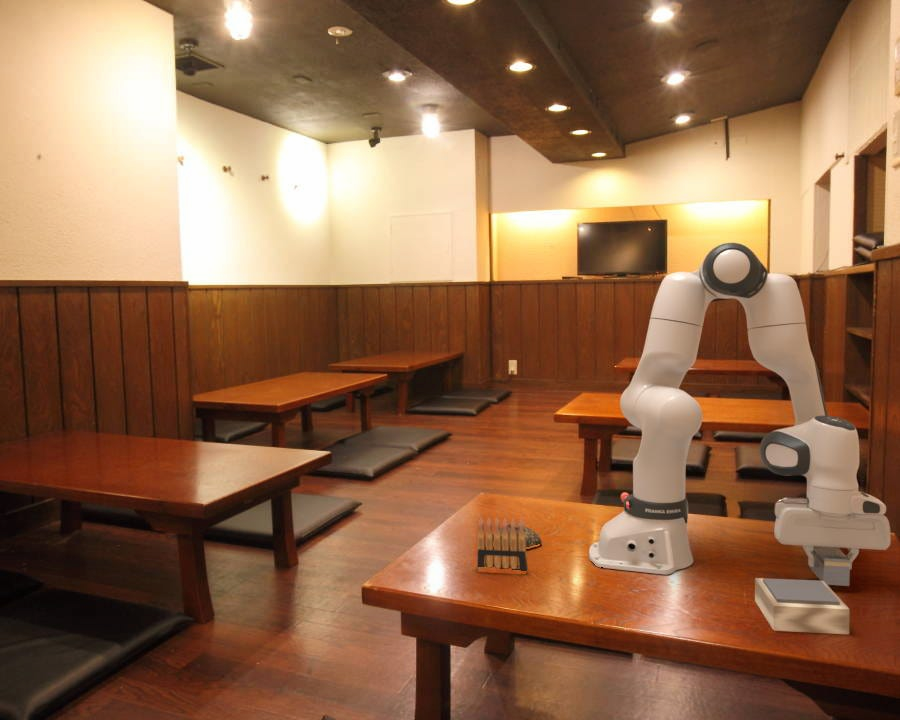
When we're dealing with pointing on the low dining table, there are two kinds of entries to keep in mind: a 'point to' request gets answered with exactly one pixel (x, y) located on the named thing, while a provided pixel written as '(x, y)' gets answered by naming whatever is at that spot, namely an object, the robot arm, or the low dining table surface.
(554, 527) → the low dining table surface
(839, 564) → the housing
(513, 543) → the ammunition clip
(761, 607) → the stand
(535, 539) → the dark speckled curved piece
